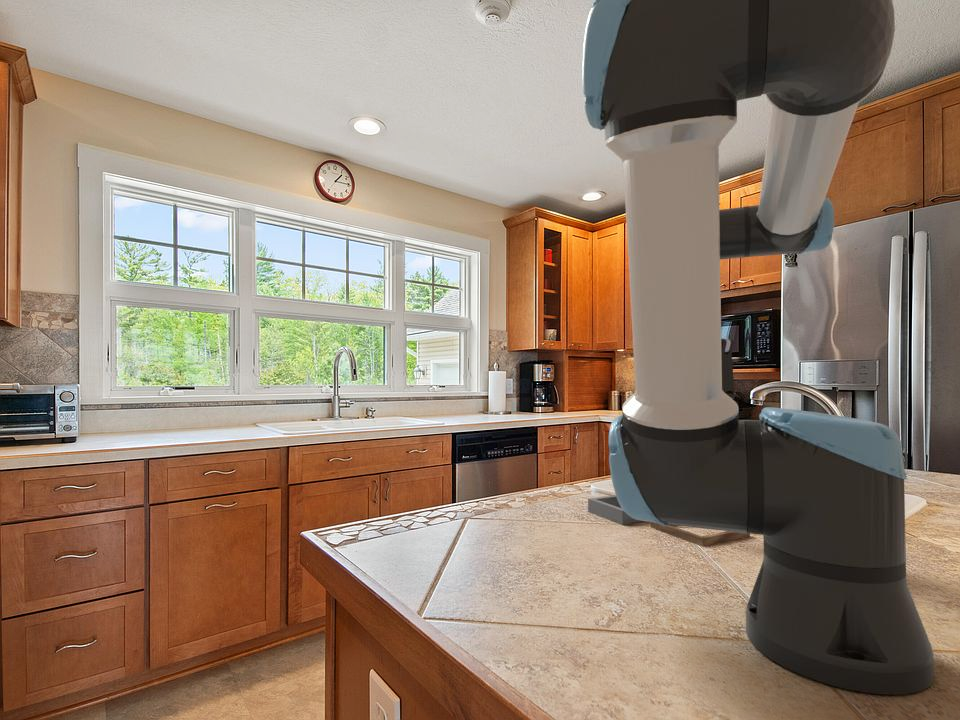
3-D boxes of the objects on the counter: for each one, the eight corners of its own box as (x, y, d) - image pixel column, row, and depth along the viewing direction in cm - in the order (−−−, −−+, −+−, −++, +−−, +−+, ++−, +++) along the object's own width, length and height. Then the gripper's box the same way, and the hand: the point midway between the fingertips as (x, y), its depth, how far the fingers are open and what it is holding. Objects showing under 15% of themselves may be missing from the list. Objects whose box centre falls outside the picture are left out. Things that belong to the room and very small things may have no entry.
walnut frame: (702, 545, 81) (702, 538, 81) (650, 527, 91) (650, 520, 91) (749, 536, 86) (749, 529, 86) (696, 519, 96) (696, 513, 96)
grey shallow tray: (622, 524, 93) (622, 510, 93) (588, 511, 102) (588, 498, 102) (702, 511, 102) (701, 498, 102) (663, 500, 111) (663, 488, 111)
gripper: (759, 300, 83) (762, 445, 82) (669, 313, 100) (670, 433, 100) (726, 297, 80) (729, 448, 79) (639, 311, 97) (640, 435, 96)
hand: (696, 439), depth 89 cm, fingers closed on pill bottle, 6 cm apart
